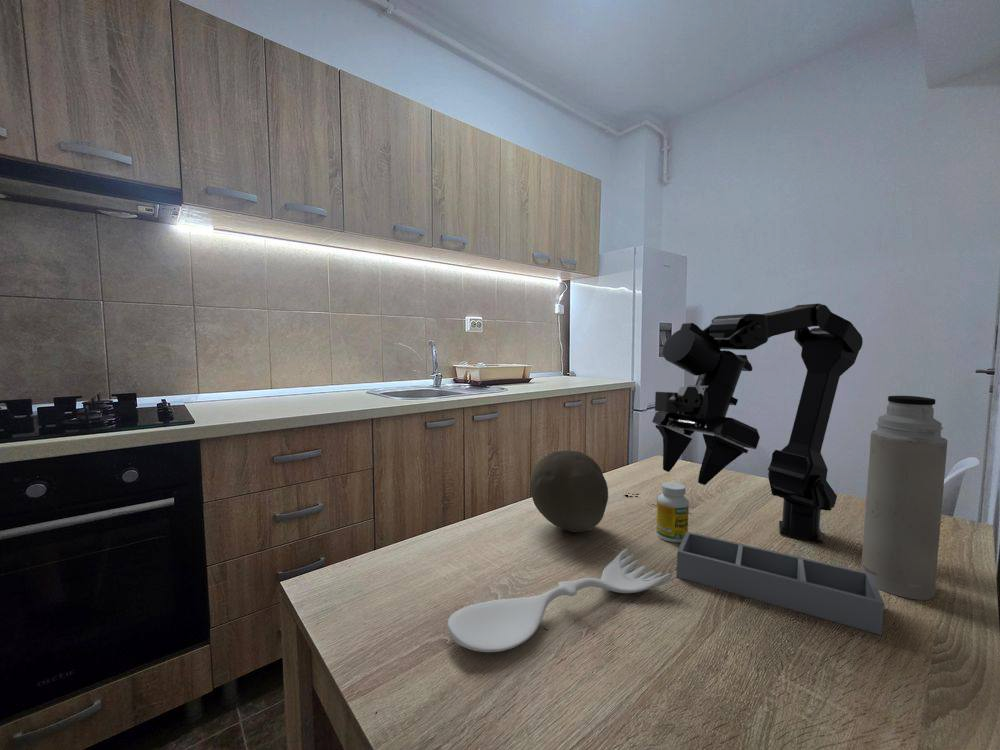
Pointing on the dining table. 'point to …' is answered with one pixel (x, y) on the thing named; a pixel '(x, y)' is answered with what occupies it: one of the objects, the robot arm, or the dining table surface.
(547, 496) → the brown coconut
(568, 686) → the dining table surface
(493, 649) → the spoon
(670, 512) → the supplement bottle
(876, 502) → the thermos bottle
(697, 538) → the slot holder
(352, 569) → the dining table surface
